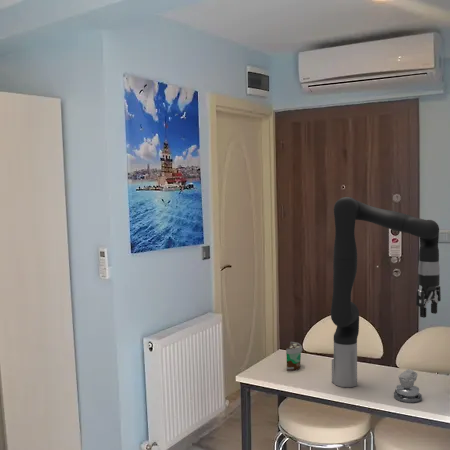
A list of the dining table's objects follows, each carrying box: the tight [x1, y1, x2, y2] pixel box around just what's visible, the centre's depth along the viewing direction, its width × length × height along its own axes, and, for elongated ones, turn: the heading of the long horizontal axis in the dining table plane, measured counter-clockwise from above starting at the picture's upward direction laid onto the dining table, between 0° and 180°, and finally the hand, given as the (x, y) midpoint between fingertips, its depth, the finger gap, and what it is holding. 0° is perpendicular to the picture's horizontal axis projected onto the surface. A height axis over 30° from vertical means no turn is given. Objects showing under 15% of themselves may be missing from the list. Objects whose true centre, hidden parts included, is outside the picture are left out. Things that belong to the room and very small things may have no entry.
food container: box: [285, 341, 303, 372], centre depth 239 cm, size 12×6×10 cm, turn 164°
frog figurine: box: [398, 368, 418, 389], centre depth 202 cm, size 6×7×7 cm
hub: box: [393, 384, 423, 404], centre depth 202 cm, size 10×10×4 cm
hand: (428, 315), depth 205 cm, fingers open, 8 cm apart
